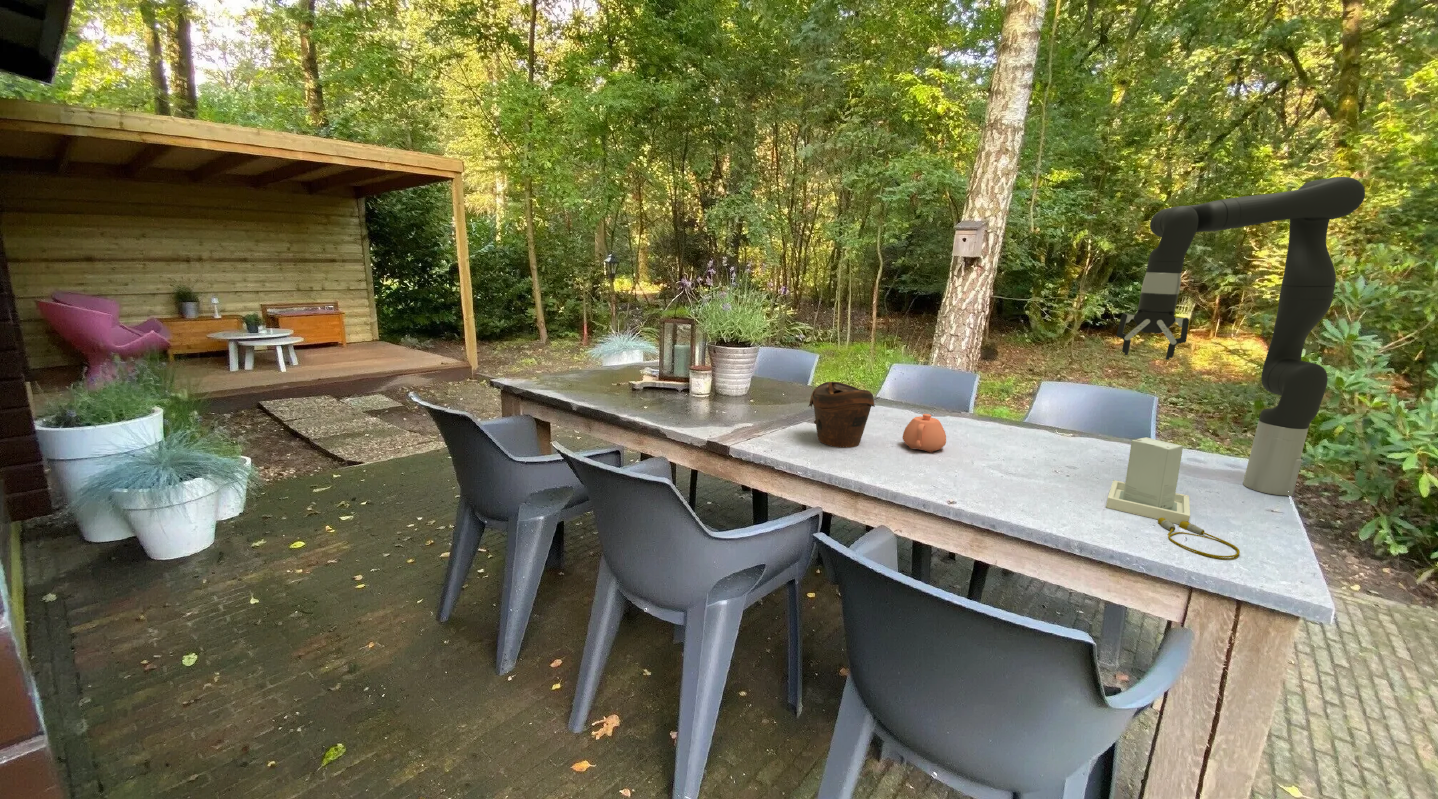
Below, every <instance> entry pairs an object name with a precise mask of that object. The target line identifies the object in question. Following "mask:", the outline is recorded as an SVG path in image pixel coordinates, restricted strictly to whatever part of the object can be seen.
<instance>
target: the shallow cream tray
mask: <svg viewBox="0 0 1438 799" xmlns="http://www.w3.org/2000/svg"><path fill="white" fill-rule="evenodd" d="M1125 482H1126V481H1119V480H1114V479H1113V480H1112V483H1111V486H1110V490H1109V493H1108V496H1107V501H1106V505H1105V508H1107V509H1110V510H1114V511H1119V512H1124V513H1129V514H1132V515H1133V514H1134V515H1138V516H1140V517H1141V516H1142V517H1145V518H1150V519H1154V520H1158V519H1159V518H1165V519H1166V520H1168V521H1170V522H1171V523H1173V524H1176V525H1179V524H1180V523H1181V522H1182V521H1185V522H1186V521H1188V522H1189V523H1190V518H1191V507H1190V506H1191V505H1190V504H1191V503H1190V495H1187V494H1183V493H1182V494H1181V493H1177V492H1176V493H1175V499H1174V505H1173V507H1172V508H1170V509H1163V508H1159V507H1154V506H1149V505H1145V504H1140V503H1136V502H1131V501H1128V500H1125V499H1123V496H1124V489H1125Z"/></svg>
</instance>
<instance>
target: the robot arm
mask: <svg viewBox="0 0 1438 799" xmlns="http://www.w3.org/2000/svg"><path fill="white" fill-rule="evenodd" d="M1365 197H1366V189H1365V186H1364V184H1362V182H1361V181H1359V179H1358V180H1357V179H1355V178H1353V177H1349V176H1334V177H1329V178H1327V177H1326V178H1321V179H1315V180H1311V181H1308V182H1306V183H1304V184H1302V185H1301V186H1300V187H1299V188H1298V189H1294V190H1288V191H1283V192H1276V193H1275V192H1274V193H1273V192H1272V193H1262V194H1255V195H1245V196H1238V197H1230V198H1225V199H1224V198H1223V199H1219V200H1212V201H1209V202H1204V203H1199V204H1193V205H1192V204H1191V205H1179V206H1173V207H1167V208H1163V209H1161V210H1159V211H1157V213H1155V214H1154V215H1153V217H1152V218H1151V219H1150V222H1149V229H1150V231H1151V232H1152V234H1154V235H1155V236H1156V237H1159V238H1160V241H1159V243H1158V246H1157V247H1156V248H1154V249H1152V250H1151V252H1150V254H1149V257H1148V261H1147V266H1146V272H1145V275H1144V278H1143V281H1142V286H1141V289H1140V290H1141V291H1140V296H1139V302H1138V306H1137V311H1136V313H1135V314H1129V313H1125V312H1123V313H1122V314H1121V317H1120V321H1119V324H1118V328H1117V332H1116V337H1118V338H1120V339H1122V340H1123V344H1122V347H1121V348H1122V349H1121V352H1122V353H1123V354H1124V356H1129V353H1130V352H1129V351H1130V347H1131V342H1132V340H1131V339H1132V338H1133V337H1134V336H1135V335H1137V334H1139V332H1140V331H1141V332H1142V333H1143V334H1148V333H1149V334H1150V333H1152V334H1158V335H1159V334H1162V333H1163V334H1164V336H1165V337H1166V339H1167V340H1168V341H1169V343H1168V346H1167V351H1166V356H1165V360H1166V361H1167V360H1168V361H1169V360H1170V358H1173V357H1174V355H1175V351H1176V346H1177V345H1178V344H1184V343H1186V342H1187V338H1188V331H1189V326H1190V324H1189V323H1190V318H1188V317H1175V312H1176V308H1177V303H1178V298H1179V293H1180V290H1181V283H1182V272H1183V269H1184V262H1185V258H1186V254H1187V252H1188V251H1189V249H1190V247H1191V244H1192V242H1193V240H1194V238H1195V236H1196V233H1200V232H1218V231H1224V230H1225V231H1226V230H1231V229H1239V228H1245V227H1250V226H1254V225H1259V224H1260V225H1261V224H1265V223H1272V222H1278V221H1283V220H1289V231H1288V233H1289V235H1288V236H1289V237H1288V245H1287V246H1288V247H1287V252H1286V253H1287V254H1286V259H1285V265H1284V266H1285V267H1284V273H1283V277H1282V280H1281V281H1282V282H1281V286H1280V291H1279V299H1278V307H1277V312H1276V318H1275V322H1274V327H1273V332H1272V337H1271V341H1270V344H1269V346H1268V350H1267V353H1266V357H1265V360H1264V363H1263V367H1262V370H1261V376H1260V377H1261V378H1260V381H1261V384H1262V387H1263V388H1264V390H1266V391H1267V392H1269V393H1271V394H1273V395H1276V396H1277V395H1278V396H1280V399H1279V401H1278V403H1277V405H1276V406H1274V407H1273V408H1264V409H1263V410H1261V412H1260V414H1259V417H1258V418H1259V419H1258V422H1257V425H1256V429H1255V433H1254V437H1253V438H1254V439H1253V441H1252V446H1251V450H1250V454H1249V458H1248V462H1247V465H1246V470H1245V474H1244V477H1243V482H1242V485H1243V486H1244V487H1246V488H1248V489H1251V490H1254V491H1256V492H1261V493H1265V494H1269V495H1276V496H1287V497H1293V495H1294V492H1295V488H1296V485H1297V481H1298V476H1299V473H1300V470H1301V466H1302V464H1303V459H1302V454H1303V450H1304V446H1305V442H1306V439H1307V435H1308V431H1309V428H1310V425H1311V422H1313V420H1314V419H1315V418H1316V416H1317V415H1318V412H1319V410H1320V407H1321V405H1322V402H1323V399H1324V396H1325V393H1326V390H1327V386H1328V378H1329V377H1328V374H1327V371H1326V369H1325V367H1323V366H1322V365H1320V364H1318V363H1314V362H1310V361H1305V360H1302V354H1303V349H1304V345H1305V342H1306V339H1307V338H1308V336H1309V334H1310V333H1311V332H1312V330H1313V329H1314V328H1315V327H1316V326H1317V325H1318V324H1319V322H1320V321H1321V320H1322V319H1323V318H1324V317H1325V315H1326V314H1327V313H1328V311H1329V310H1330V308H1331V306H1332V302H1333V299H1334V292H1335V287H1336V281H1337V274H1336V270H1335V267H1334V264H1333V261H1332V258H1331V256H1330V253H1329V250H1328V245H1327V234H1328V228H1329V224H1330V220H1335V219H1340V218H1343V217H1346V216H1348V215H1350V214H1352V213H1353V212H1355V211H1357V209H1358V208H1359V207H1361V205H1362V203H1363V202H1364V199H1365ZM1131 320H1133V321H1134V322H1135V324H1136V325H1137V326H1136V327H1135V328H1133V329H1132V330H1131V331H1130V332H1129V333H1124V332H1125V331H1124V330H1125V327H1126V324H1129V323H1130V321H1131ZM1175 323H1177V326H1178V327H1180V328H1181V329H1180V335H1179V336H1180V337H1177V338H1175V336H1174V334H1173V332H1172V331H1171V330H1170V329H1169V328H1170V327H1171V326H1172V325H1173V324H1175ZM1288 491H1289V492H1288Z"/></svg>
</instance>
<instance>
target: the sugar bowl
mask: <svg viewBox="0 0 1438 799" xmlns="http://www.w3.org/2000/svg"><path fill="white" fill-rule="evenodd" d="M902 441H903V442H904V443H905V445H907V447H909V449H912V450H920V451H925V452H927V453H933V452H934V451H939V450H941V449H942V448H944V447H945V446H946V444H947V436H946V431H945V429H944V427H943V425H942V423H941V421H940V420H939V419H938V418H934V417H932V414H930V413H922V416H915V417H913V418H912V419H911V420H910V421H909V423H907V425H906V426H905V429H904V430H903V434H902Z"/></svg>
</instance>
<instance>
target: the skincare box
mask: <svg viewBox="0 0 1438 799" xmlns="http://www.w3.org/2000/svg"><path fill="white" fill-rule="evenodd" d="M1130 443H1131V444H1130V449H1129V450H1130V451H1129V455H1128V456H1129V458H1128V463H1127V468H1126V469H1127V470H1126V476H1125V481H1124V482H1125V489H1124V496H1123V499H1125V500H1128V501H1131V502H1136V503H1140V504H1145V505H1149V506H1154V507H1159V508H1163V509H1170V508H1172V507H1173V505H1174V499H1175V493H1177V487H1178V480H1179V474H1180V468H1181V461H1182V456H1183V449H1184V446H1183V445H1181V444H1177V443H1171V442H1167V441H1163V440H1159V439H1154V438H1152V437H1151V438H1150V437H1147V436H1145V437H1141V438H1136V439H1132V440H1131V442H1130Z"/></svg>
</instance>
